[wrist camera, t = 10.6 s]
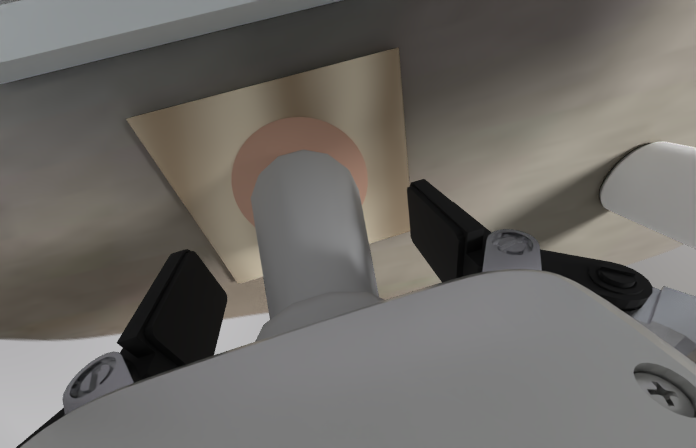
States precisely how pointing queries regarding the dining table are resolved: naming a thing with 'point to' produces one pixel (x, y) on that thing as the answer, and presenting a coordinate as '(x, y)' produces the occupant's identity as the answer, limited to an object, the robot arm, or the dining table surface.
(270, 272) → the salt shaker
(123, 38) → the acrylic wall
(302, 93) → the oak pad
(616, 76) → the dining table surface
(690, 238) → the can
